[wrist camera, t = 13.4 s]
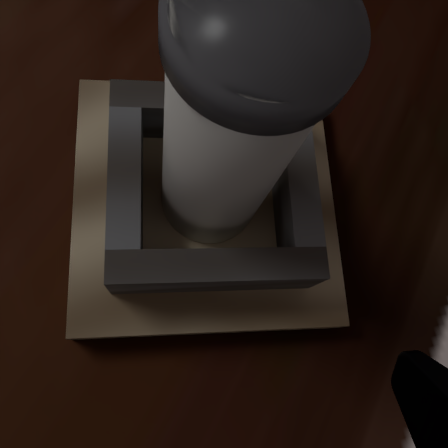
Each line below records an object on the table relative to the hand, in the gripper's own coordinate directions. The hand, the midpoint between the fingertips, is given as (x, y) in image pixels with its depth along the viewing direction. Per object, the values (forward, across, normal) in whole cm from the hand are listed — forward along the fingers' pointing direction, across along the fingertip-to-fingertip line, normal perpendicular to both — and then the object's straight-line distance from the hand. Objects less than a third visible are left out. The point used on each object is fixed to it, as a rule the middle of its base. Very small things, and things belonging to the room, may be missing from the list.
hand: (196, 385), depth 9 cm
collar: (+16, -2, +4) cm, 16 cm away
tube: (+14, -2, +3) cm, 15 cm away
